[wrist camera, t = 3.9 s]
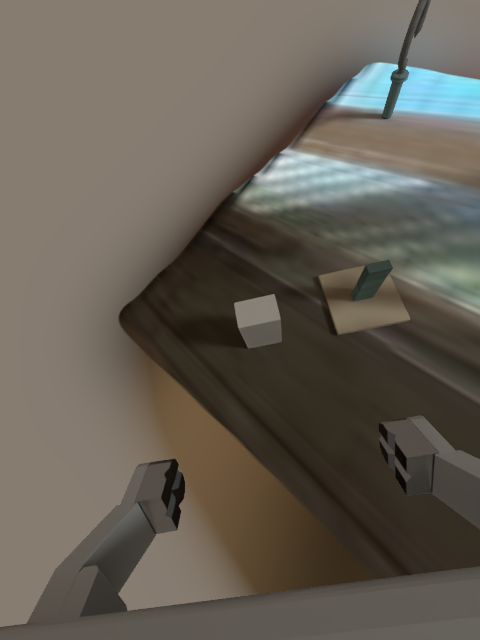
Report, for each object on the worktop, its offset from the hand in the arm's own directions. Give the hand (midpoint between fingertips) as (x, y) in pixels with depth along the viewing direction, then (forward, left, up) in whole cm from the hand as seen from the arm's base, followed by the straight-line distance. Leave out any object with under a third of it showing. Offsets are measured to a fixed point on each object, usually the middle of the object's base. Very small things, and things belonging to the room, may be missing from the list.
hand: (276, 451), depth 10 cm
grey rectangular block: (-11, -6, -22) cm, 25 cm away
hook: (-58, +2, -22) cm, 62 cm away
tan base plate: (-20, +5, -22) cm, 30 cm away
